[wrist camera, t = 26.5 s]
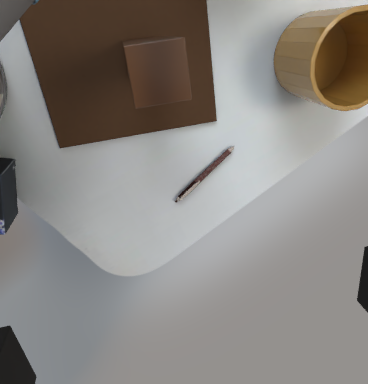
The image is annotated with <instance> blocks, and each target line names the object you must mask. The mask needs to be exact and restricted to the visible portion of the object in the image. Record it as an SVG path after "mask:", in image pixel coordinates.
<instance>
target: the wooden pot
mask: <svg viewBox="0 0 368 384" xmlns="http://www.w3.org/2000/svg"><path fill="white" fill-rule="evenodd" d="M274 69H275V74H276V77H277V79H278V81H279V83H280V84H281V86H282V87H283V88H284V89H285V90H286V91H288V92H289V93H291V94H293V95H295V96H297V97H300V98H303V99H305V100H308V101H311V102H314V103H317V104H320V105H322V106H325V107H328V108H331V109H335V110H341V111H348V110H354V109H358V108H361V107H363V106H365V105H366V104H368V5H361V6H352V7H344V8H336V9H327V10H319V11H313V12H308V13H306V14H303V15H301V16H299V17H298V18H296V19H295V20H294V21H292V22H291V23H290V24H289V25H288V27H287V28H286V29H285V30H284V32H283V33H282V35H281V37H280V39H279V41H278V43H277V46H276V49H275V54H274Z"/></svg>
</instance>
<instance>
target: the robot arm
mask: <svg viewBox="0 0 368 384" xmlns="http://www.w3.org/2000/svg"><path fill="white" fill-rule="evenodd" d="M38 1H39V0H0V41H1V40H2V39H3V38H4V37H5V35H6V34H7V33H8V32H9V31H10V29H11V28H12V27H13V26H14V25H15V23H16V22H17V21H18V20H19V19H20V18H21V16H22V15H23V14H24V13H25V12H26V10H27V9H28V8H29V7H30V6H31V4H33V5H34V4H36V3H37V2H38ZM6 97H7V86H6V79H5V74H4V71H3V68H2V65H1V63H0V118H1V116H2V114H3V111H4V108H5V104H6ZM357 301H358V302H359V303H360V304H361V305H362V307H363V308H364V309H365V310H366V311H367V312H368V246H367V247H365V250H364V256H363V263H362V270H361V277H360V284H359V291H358V298H357ZM35 380H36V375H35V373H34V371H33V369H32V367H31V365H30V363H29V361H28V359H27V357H26V355H25V353H24V351H23V350H22V348H21V346H20V344H19V342H18V340H17V338H16V336H15V334H14V332H13V331H12V328H11V327H10V326H6V327H1V328H0V384H35Z"/></svg>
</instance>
